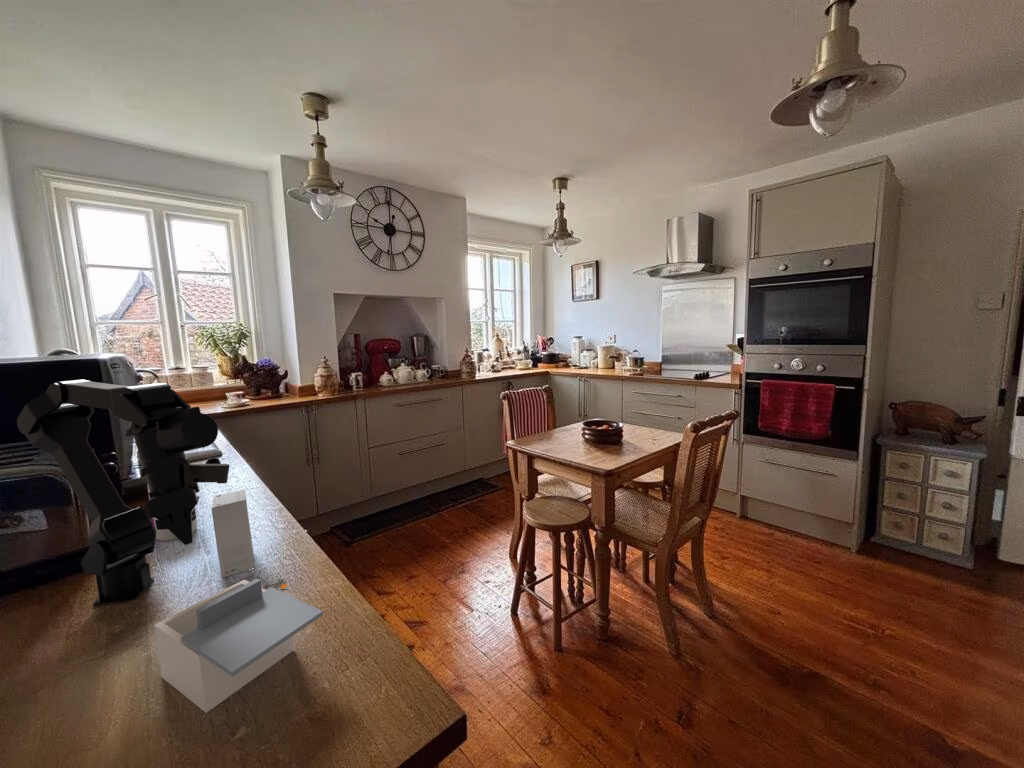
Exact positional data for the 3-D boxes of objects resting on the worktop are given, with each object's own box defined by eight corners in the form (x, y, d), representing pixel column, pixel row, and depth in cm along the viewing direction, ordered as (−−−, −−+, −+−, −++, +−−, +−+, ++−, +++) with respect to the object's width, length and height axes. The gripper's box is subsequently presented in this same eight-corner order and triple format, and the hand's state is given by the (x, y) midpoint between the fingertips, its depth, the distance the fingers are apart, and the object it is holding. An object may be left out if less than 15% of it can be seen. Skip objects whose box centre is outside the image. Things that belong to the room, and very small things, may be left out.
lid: (181, 641, 54) (178, 619, 54) (272, 591, 65) (270, 571, 64) (232, 676, 49) (229, 651, 48) (323, 614, 59) (321, 593, 59)
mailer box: (161, 677, 59) (154, 624, 58) (249, 624, 70) (244, 579, 69) (206, 713, 53) (198, 655, 52) (294, 649, 64) (289, 601, 63)
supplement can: (146, 539, 100) (138, 478, 98) (184, 524, 108) (177, 467, 106) (168, 544, 97) (159, 482, 95) (205, 529, 105) (198, 470, 103)
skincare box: (255, 569, 86) (247, 500, 84) (219, 579, 83) (210, 507, 81) (253, 552, 93) (246, 487, 91) (220, 560, 90) (212, 494, 88)
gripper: (220, 443, 69) (246, 534, 69) (218, 441, 84) (239, 515, 85) (131, 466, 62) (161, 566, 63) (146, 459, 77) (170, 540, 78)
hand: (188, 543), depth 72 cm, fingers closed
